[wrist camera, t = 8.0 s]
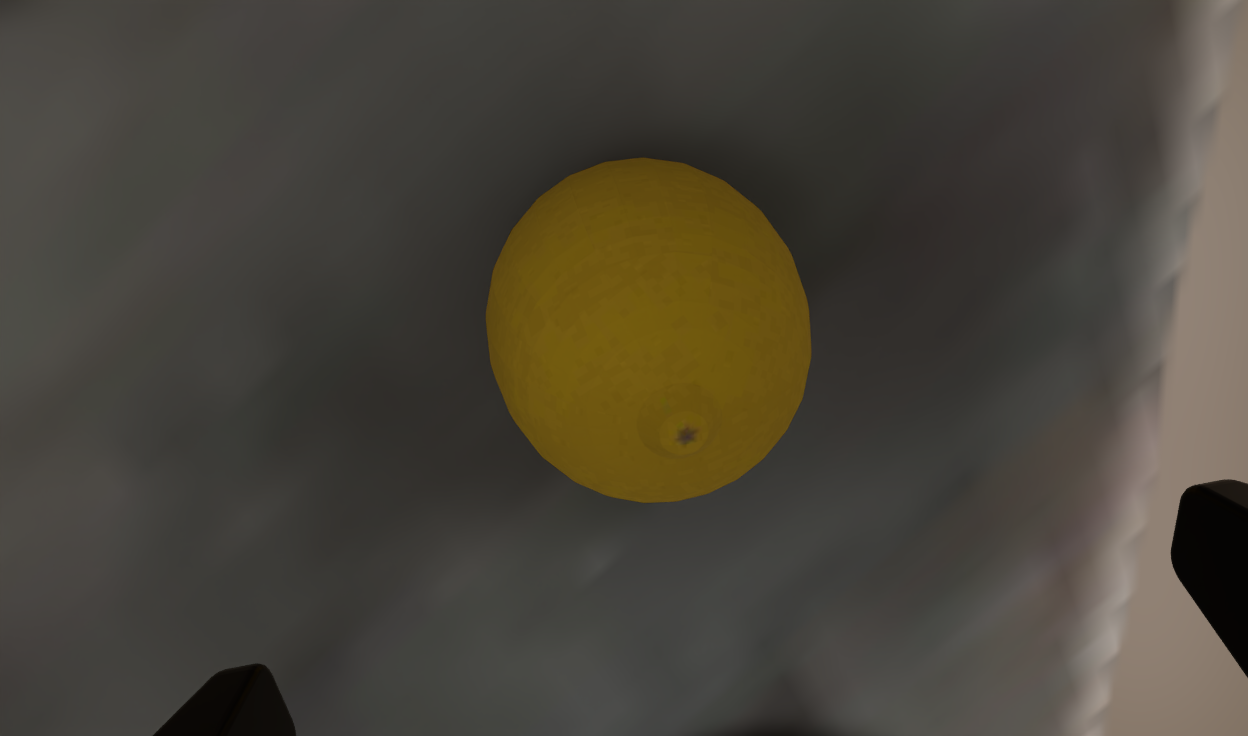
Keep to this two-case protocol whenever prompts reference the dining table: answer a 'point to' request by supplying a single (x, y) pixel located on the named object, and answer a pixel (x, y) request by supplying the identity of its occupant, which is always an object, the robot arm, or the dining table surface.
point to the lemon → (648, 330)
